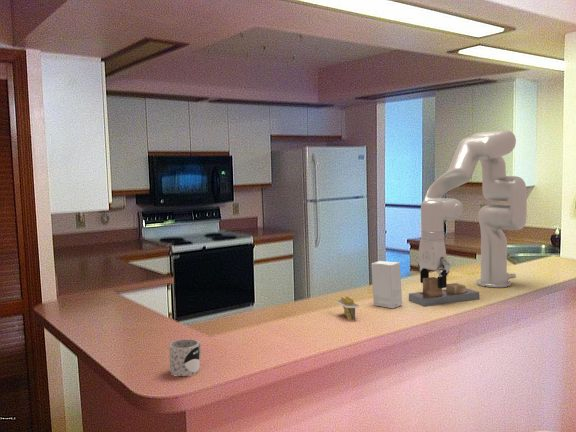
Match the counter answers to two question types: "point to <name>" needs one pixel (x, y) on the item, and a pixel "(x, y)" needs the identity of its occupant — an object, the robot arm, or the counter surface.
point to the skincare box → (386, 284)
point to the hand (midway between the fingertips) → (433, 285)
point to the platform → (348, 307)
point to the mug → (184, 357)
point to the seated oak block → (455, 288)
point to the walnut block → (431, 287)
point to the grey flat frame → (443, 297)
